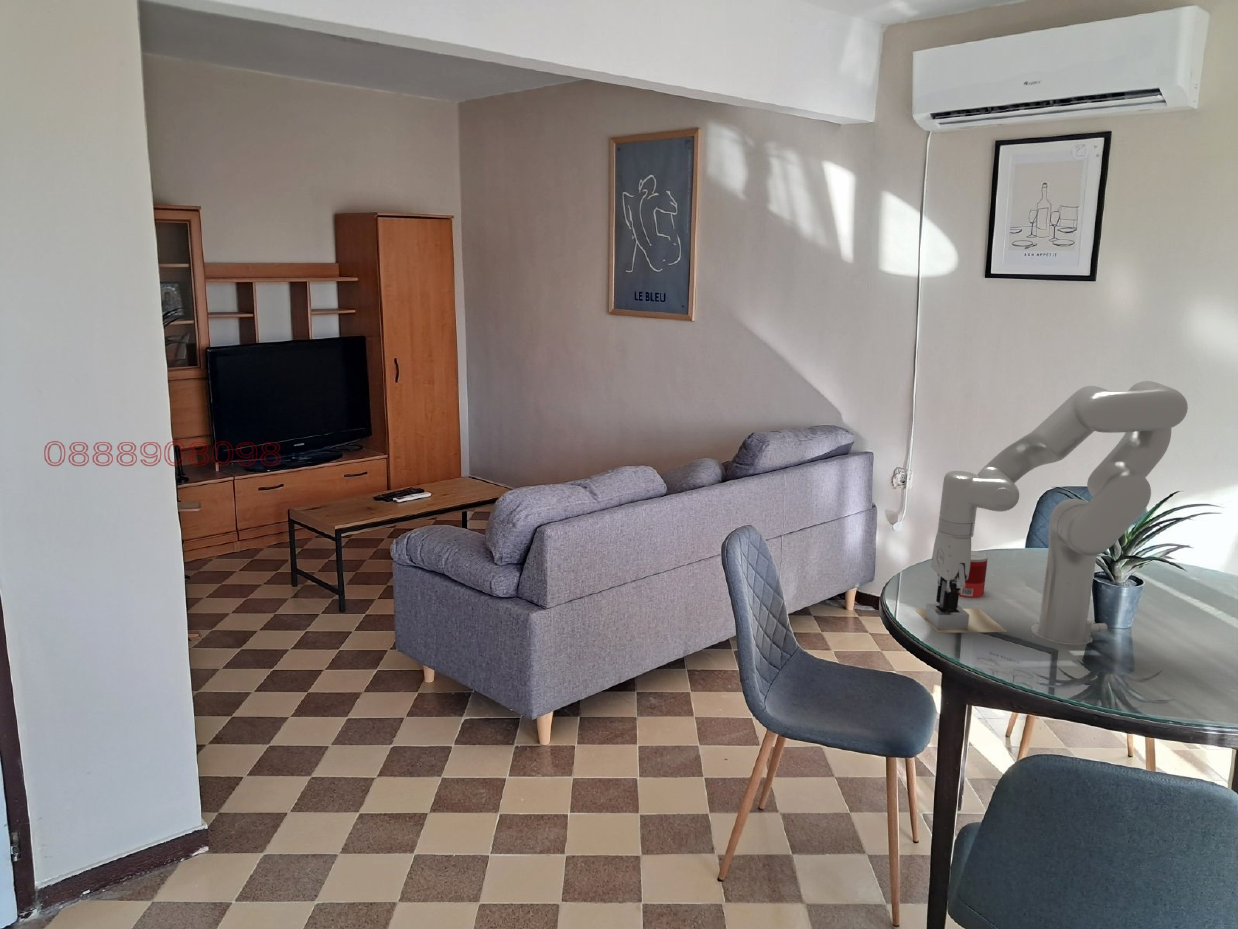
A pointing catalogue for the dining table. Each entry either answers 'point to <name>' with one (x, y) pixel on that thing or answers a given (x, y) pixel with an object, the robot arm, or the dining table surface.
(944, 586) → the pin
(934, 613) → the collar
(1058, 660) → the dining table surface
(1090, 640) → the robot arm
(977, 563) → the canned food
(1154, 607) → the dining table surface
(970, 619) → the board
